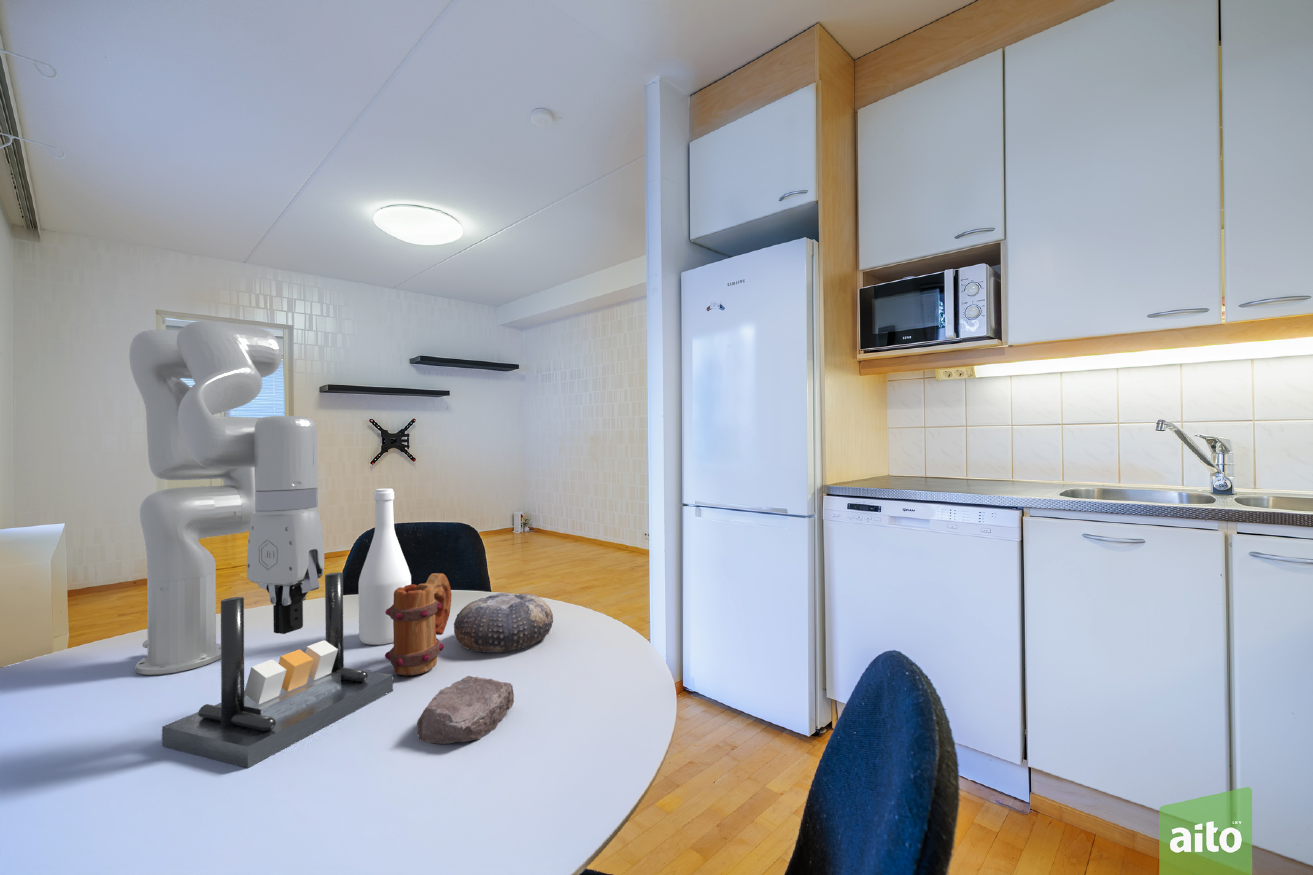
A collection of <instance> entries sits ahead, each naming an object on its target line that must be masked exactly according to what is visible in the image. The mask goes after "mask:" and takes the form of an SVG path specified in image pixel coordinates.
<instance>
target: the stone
mask: <svg viewBox="0 0 1313 875" xmlns="http://www.w3.org/2000/svg"><path fill="white" fill-rule="evenodd" d="M514 698H515V693H514V687H513V684H512V683H510V682H505V681H503V682H502V681H500V680H495V679H492V678H486V677H480V676H471V675H467V676H465V677H464V678H463V677H462V679H460V680H457V681H455V682H453V683H452V684H450V686H446V687H444V688H442V689H440V690H439V691H438V693H436V694H435V696H434V697H433V698H432V699H431V700H430V701H429V702H428V704H427V706H426V707H425V708H424V709H423V711H422V713H421V714H420V716H419V718H418V719H417V724H416V734H417V737H418V740H419V741H420V742H422V743H423V742H424V743H430V744H432V743H433V744H440V745H445V744H452V743H457V742H459V743H466V742H469V741H473V740H475V741H476V740H480V739H482V738H483V737H486V736H487V735H488V734H489V733H490V732H492V731H493V730H495V729H496V728H497V727H498V725H499V723H500V721H501V720H503V718H504V717H505V716H506V715H507V712H508V711H509V710H510V709H511V708H513V705H514V703H515V700H514Z"/></svg>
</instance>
